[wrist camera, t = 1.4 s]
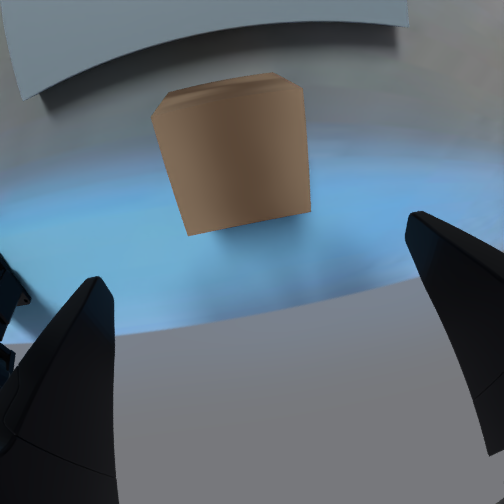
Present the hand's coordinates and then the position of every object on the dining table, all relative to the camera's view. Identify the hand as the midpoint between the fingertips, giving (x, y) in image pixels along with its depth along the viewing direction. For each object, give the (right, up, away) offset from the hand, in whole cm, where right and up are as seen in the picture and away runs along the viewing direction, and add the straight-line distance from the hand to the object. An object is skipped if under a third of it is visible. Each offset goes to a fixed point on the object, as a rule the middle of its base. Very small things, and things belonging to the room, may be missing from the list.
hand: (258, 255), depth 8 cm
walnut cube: (-2, +8, +9) cm, 12 cm away
